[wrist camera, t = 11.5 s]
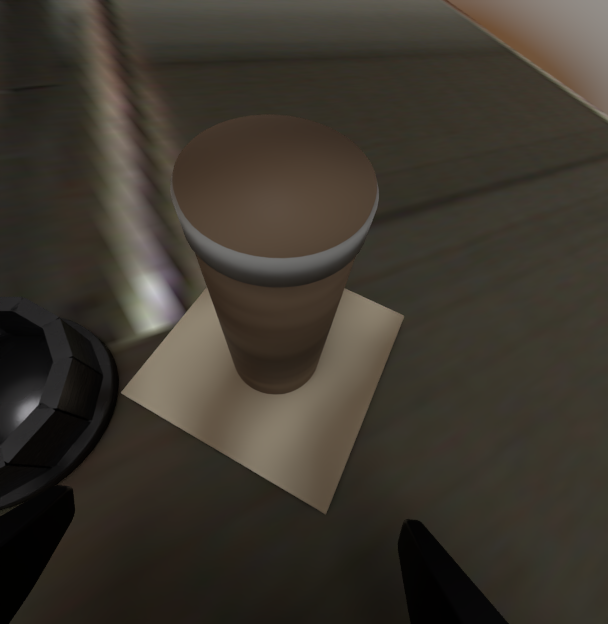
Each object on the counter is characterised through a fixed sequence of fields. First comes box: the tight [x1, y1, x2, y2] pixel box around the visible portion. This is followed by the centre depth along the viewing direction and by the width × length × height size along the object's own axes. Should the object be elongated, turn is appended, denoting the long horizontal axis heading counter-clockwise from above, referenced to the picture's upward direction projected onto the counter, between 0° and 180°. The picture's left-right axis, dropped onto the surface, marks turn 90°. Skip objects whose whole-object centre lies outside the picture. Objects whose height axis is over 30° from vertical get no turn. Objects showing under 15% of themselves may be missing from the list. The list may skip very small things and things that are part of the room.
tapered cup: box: [170, 115, 379, 395], centre depth 13 cm, size 5×5×12 cm
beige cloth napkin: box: [121, 288, 404, 514], centre depth 19 cm, size 12×12×2 cm
